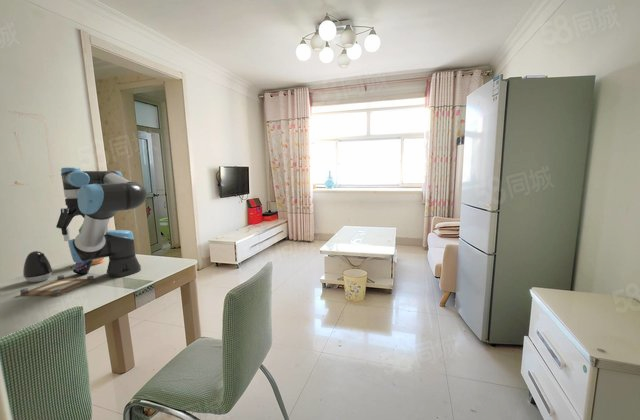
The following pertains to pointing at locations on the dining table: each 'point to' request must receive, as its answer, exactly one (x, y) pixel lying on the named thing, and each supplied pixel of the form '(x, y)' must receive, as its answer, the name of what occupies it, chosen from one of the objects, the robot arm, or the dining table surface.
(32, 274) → the black egg-shaped dome
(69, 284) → the wooden tray
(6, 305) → the dining table surface
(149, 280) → the dining table surface
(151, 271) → the dining table surface
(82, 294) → the dining table surface
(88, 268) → the supplement container
